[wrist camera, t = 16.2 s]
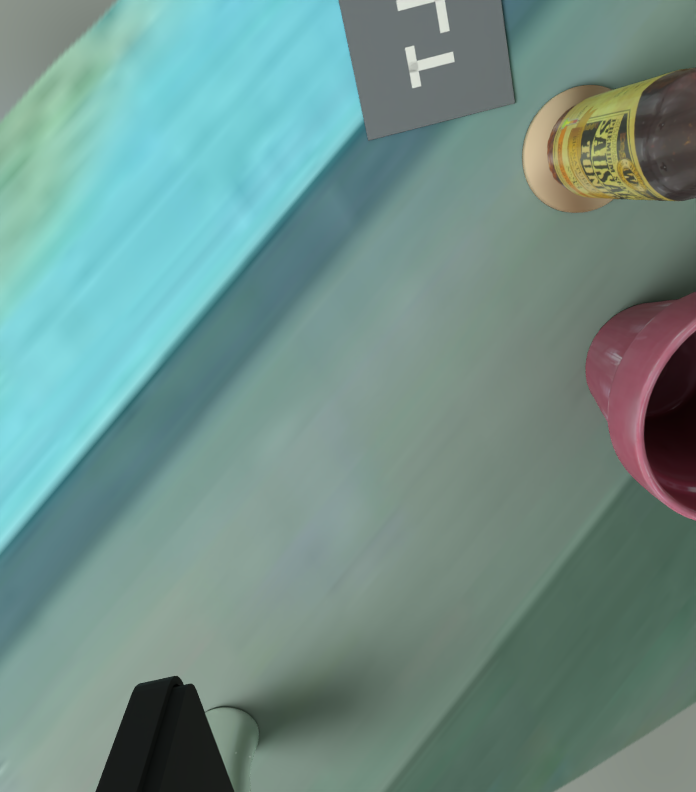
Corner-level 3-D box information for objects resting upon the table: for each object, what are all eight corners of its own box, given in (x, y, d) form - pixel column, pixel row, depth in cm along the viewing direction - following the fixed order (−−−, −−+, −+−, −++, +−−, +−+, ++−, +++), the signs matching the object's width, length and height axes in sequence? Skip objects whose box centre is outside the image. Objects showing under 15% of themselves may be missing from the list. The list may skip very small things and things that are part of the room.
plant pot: (536, 296, 44) (621, 331, 31) (724, 242, 43) (884, 257, 31) (566, 466, 48) (651, 555, 36) (738, 419, 48) (882, 493, 35)
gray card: (490, -72, 36) (491, -73, 36) (514, 103, 40) (515, 103, 39) (332, -30, 37) (332, -31, 37) (368, 140, 40) (368, 140, 40)
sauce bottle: (524, 140, 40) (711, 82, 21) (604, 77, 39) (876, -44, 20) (574, 221, 42) (788, 234, 23) (651, 162, 41) (942, 126, 22)
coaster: (632, 73, 39) (636, 71, 39) (641, 197, 42) (646, 196, 41) (514, 103, 40) (516, 101, 39) (530, 224, 42) (533, 225, 41)
